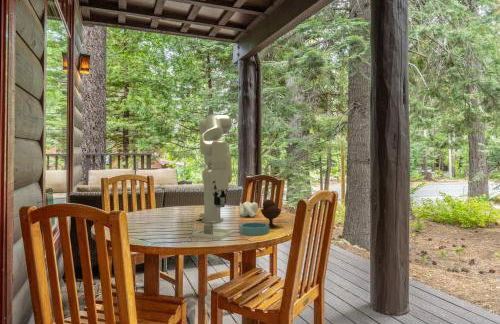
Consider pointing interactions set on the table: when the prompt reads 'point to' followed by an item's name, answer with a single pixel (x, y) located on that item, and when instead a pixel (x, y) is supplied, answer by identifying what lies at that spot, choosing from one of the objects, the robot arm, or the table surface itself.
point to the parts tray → (215, 233)
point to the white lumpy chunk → (249, 209)
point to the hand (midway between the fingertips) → (220, 203)
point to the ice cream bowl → (270, 211)
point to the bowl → (254, 229)
